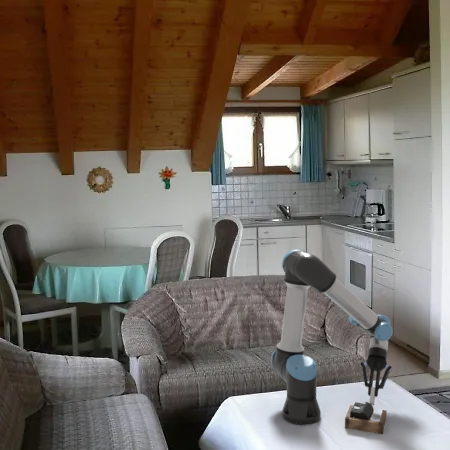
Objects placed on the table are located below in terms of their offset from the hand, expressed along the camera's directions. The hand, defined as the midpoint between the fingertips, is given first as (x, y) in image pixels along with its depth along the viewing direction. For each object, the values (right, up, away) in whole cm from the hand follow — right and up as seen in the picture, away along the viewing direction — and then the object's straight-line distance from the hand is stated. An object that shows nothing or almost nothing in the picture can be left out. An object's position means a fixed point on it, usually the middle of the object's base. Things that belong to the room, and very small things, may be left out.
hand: (371, 403), depth 232 cm
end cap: (-6, -5, -9) cm, 12 cm away
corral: (-5, -5, -10) cm, 12 cm away
